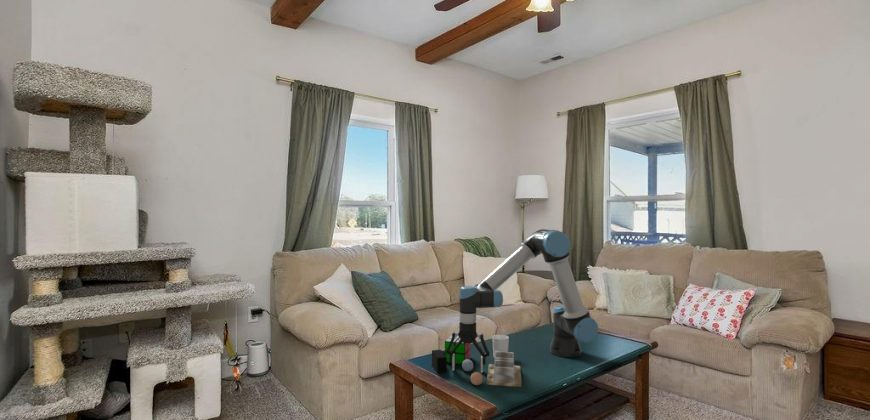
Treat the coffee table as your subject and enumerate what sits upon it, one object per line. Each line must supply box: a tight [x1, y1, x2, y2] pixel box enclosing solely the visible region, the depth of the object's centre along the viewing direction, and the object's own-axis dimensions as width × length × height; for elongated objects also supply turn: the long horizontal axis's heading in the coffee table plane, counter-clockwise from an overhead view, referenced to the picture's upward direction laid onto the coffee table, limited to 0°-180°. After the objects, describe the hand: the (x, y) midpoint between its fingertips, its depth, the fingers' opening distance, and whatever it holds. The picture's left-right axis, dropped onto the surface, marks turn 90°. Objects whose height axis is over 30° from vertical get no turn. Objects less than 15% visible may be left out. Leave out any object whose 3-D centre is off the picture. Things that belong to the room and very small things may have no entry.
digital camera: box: [431, 349, 448, 374], centre depth 188 cm, size 10×5×7 cm, turn 14°
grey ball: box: [461, 359, 474, 372], centre depth 185 cm, size 5×5×5 cm
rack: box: [486, 351, 522, 388], centre depth 180 cm, size 14×20×7 cm
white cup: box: [491, 334, 510, 359], centre depth 203 cm, size 8×8×10 cm
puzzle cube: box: [444, 334, 471, 365], centre depth 199 cm, size 10×10×10 cm
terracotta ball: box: [470, 371, 484, 386], centre depth 171 cm, size 5×5×5 cm
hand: (467, 370), depth 185 cm, fingers open, 12 cm apart
